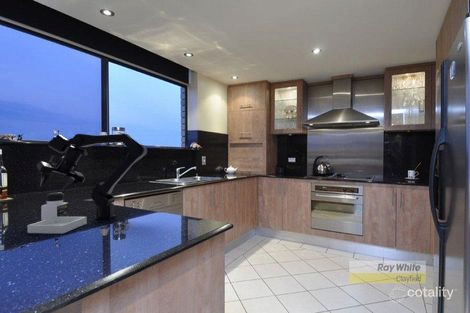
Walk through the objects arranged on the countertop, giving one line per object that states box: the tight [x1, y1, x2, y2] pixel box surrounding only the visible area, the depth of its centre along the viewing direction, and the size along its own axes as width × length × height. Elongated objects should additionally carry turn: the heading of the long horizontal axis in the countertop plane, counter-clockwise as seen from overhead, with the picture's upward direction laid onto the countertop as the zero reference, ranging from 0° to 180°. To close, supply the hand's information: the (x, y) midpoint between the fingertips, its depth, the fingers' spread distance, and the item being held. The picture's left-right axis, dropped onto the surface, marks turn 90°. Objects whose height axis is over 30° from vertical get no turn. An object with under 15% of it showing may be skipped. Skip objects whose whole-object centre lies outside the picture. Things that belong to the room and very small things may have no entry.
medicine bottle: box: [40, 192, 69, 221], centre depth 114 cm, size 7×7×12 cm
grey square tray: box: [27, 216, 88, 234], centre depth 101 cm, size 14×14×3 cm
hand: (51, 188), depth 115 cm, fingers open, 9 cm apart
